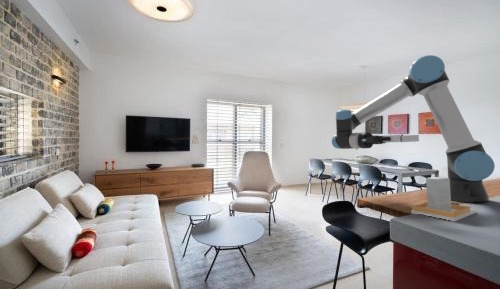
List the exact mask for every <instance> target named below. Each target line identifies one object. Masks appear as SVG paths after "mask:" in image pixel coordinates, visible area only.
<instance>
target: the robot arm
mask: <svg viewBox="0 0 500 289" xmlns="http://www.w3.org/2000/svg"><path fill="white" fill-rule="evenodd" d="M445 67H446V66H445V62H444V61H443V60H442V58H441V57H439V56H436V55H433V54H432V55H430V54H429V55H427V54H426V55H423V56H420V57H419V58H417V59H416V60H415V61H414V62H413V63H412V64H411V66H410V67H409V72H408V73H409V74H408V75H407V76H405V77H404V78H403V79H401V80H400V82H399V84H397V85H395V86H394V87H392V88H391V89H389V90H388V91H386V92H384V93H383V94H381V95H379V96H378V97H376V98H375V99H373V100H371V101H370V102H368V103H366V104H365V105H363V106H362V107H360V108H359V109H357V110H355V111H353V112H352V111H351V110H350V109H342V110H341V109H340V110H337V111H336V113H335V123H336V124H335V125H336V127H335V128H336V133H335V134H334V135H333V136H332V139H331V145H332V146H333V147H334V148H335V149H341V150H347V149H355V150H357V151H358V149H371V148H372V147H373V146H374V145H383V144H386V143H411V142H412V143H414V142H420V139H419V138H420V137H419V136H420V135H419V134H410V135H404V134H394V135H393V134H391V135H373V134H372V133H371V132H369V131H366V132H365V131H363V132H353V131H354V130H355V129H356V128H357V127H358V126H360V125H362V124H363V123H365V122H367V121H369V120H371V119H372V118H374V117H376V116H377V115H379V114H380V113H381V114H382V113H383V112H384V111H386V110H389V109H390V108H391V107H392V106H394V105H396V104H398V103H400V102H402V101H403V100H405V99H407V98H408V97H411V98H412V97H414V96H416V95H420V96H423V97H424V100H425V102H426V104H427V106H428V108H429V110H430V112H431V114H432V116H433V119H434V121H435V123H436V124H437V127H438V129H439V132H440V133H441V136H442V138H443V139H444V142H445V144H446V146H447V148H446V150H445V154H446V158H447V160H446V161H447V178H450V194H451V201H452V202H453V201H454V202H458V203H473V202H485V203H488V202H487V201H489V202H490V196H489V194H488V191H487V190H486V188H485V187H486V186H484V184H483V180H486V179H488V178H489V177H490V176H491V175H492V174H493V173H494V171H495V166H496V165H495V162H494V159H493V158H492V157H491V156H490V155H489V154H488V153H487V152H486V150H485V148H484V145H483V144H482V142H481V141H478V140H476V139H474V138H473V135H472V134H471V131H470V129H469V127H468V125H467V123H466V120H464V117H463V115H462V114H461V111H460V109H459V107H458V105H457V103H456V101H455V99H454V97H453V96H452V92H451V91H450V89H449V87H448V85H449V83H450V79H449V76H448V74H447V72H446V69H445Z"/></svg>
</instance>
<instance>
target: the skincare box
mask: <svg viewBox="0 0 500 289" xmlns="http://www.w3.org/2000/svg"><path fill="white" fill-rule="evenodd" d="M425 181H426V182H425V183H426V197H427V198H426V199H427V201H426V202H427V203H428V208H429V209H435V210H440V211H446V212H448V211H451V202H452V200H451V194H450V178H448V177H444V176H434V177H432V176H431V177H426V178H425Z"/></svg>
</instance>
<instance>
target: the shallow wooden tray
mask: <svg viewBox="0 0 500 289" xmlns="http://www.w3.org/2000/svg"><path fill="white" fill-rule="evenodd" d="M418 213H422V214H427V215H431V216H435V217H438V218H442V219H441V220H443V219H446V220H445V221H448V220H450V221H449V222H454V223H455V222H457V221H459V220H461V219H464V218H466V217H469V216H472V215H475V214H476V213H477V209H476V208H471V207H470V206H466V205H460V202H456V201H454V202H453V201H451V211H448V212H446V211H440V210H435V209H429V208H428V203H427V201H425V202H421V203H418V204H414V205H411V214H415V215H418ZM438 218H437V219H438Z"/></svg>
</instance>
